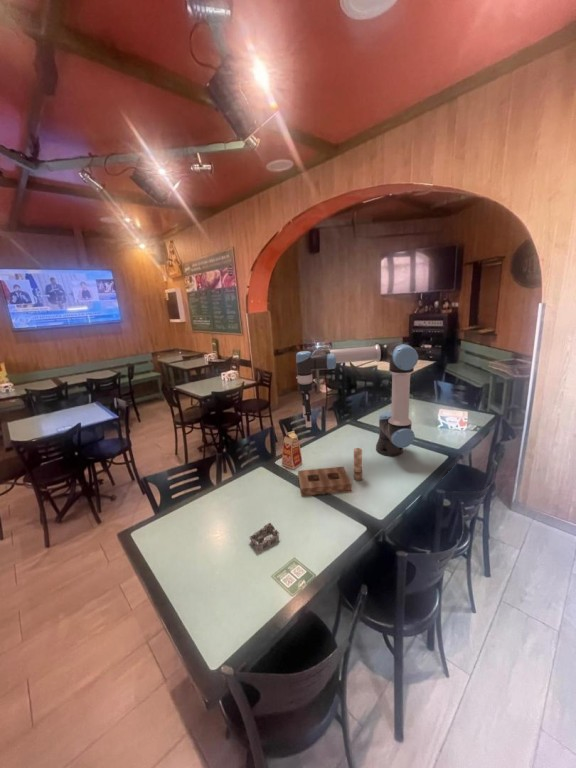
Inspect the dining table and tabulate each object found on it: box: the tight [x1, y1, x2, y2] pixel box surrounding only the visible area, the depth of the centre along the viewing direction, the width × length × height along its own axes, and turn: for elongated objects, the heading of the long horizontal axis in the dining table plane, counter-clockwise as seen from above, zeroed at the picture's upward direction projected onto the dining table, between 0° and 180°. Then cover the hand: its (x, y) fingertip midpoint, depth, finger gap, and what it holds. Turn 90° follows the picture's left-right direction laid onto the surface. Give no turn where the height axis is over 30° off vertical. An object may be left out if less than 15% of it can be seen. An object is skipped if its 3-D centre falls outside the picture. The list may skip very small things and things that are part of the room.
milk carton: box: [281, 430, 303, 470], centre depth 174 cm, size 9×9×20 cm
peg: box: [353, 447, 363, 482], centre depth 156 cm, size 4×4×16 cm
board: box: [297, 466, 353, 497], centre depth 155 cm, size 24×16×4 cm, turn 94°
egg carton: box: [249, 522, 280, 551], centre depth 121 cm, size 11×8×4 cm
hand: (307, 421), depth 162 cm, fingers open, 13 cm apart
